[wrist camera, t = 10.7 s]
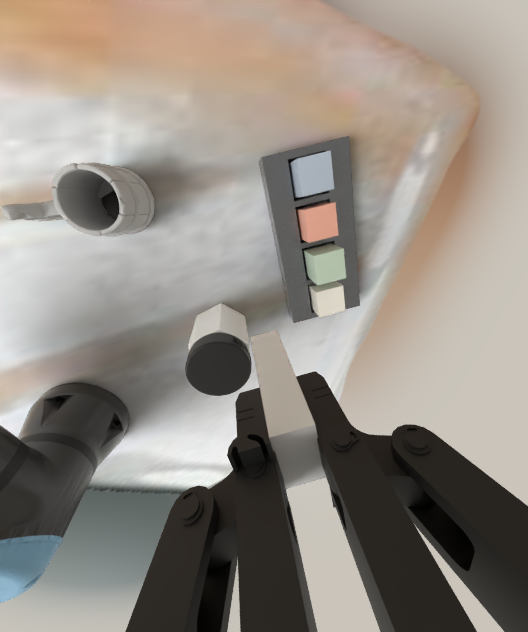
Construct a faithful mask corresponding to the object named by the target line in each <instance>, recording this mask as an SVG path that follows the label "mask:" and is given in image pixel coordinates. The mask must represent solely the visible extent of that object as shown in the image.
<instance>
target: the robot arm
mask: <svg viewBox="0 0 528 632" xmlns="http://www.w3.org/2000/svg"><path fill="white" fill-rule="evenodd" d="M250 338H251V343H252V348H253V354H254V359H255V364H256V370H257V375H258V381H259V386H260V388H257V389H253V390H250V391H246V392H242V393H240V394H239V396H238V398H237V401H236V421H237V438H235V439H234V440H233V442H232V443H231V445H230V447H229V449H228V455H227V456H228V458H229V461H230V463H231V465H232V467H233V471H232V472H231V473H230V474H229V475H228V476H227V477H226V478H225V479H224V480H222V481H221V482H219V483H218V484H217V485H215V486H213V487H212V488H210V489H207V488H206V487H203V486H196V487H192V488H190V489H188V490H186V491H185V492H183V493H182V494H181V495H180V496H179V498H178V499H177V500H176V501H175V503H174V505H173V507H172V509H171V511H170V513H169V516H168V519H167V521H166V524H165V527H164V530H163V532H162V535H161V538H160V540H159V543H158V546H157V548H156V551H155V554H154V557H153V559H152V562H151V564H150V567H149V570H148V573H147V575H146V578H145V581H144V583H143V586H142V589H141V592H140V594H139V597H138V600H137V602H136V605H135V608H134V610H133V613H132V616H131V619H130V621H129V624H128V627H127V629H126V632H227V629H228V621H229V614H230V607H231V600H232V593H233V586H234V579H235V572H236V565H237V558H238V573H239V600H240V625H241V626H240V628H241V632H317V628H316V623H315V619H314V614H313V609H312V605H311V600H310V595H309V591H308V586H307V581H306V577H305V572H304V568H303V563H302V558H301V554H300V549H299V545H298V540H297V536H296V531H295V526H294V521H293V517H292V512H291V508H290V505H289V501H288V498H287V493H286V489H288V488H291V487H294V486H297V485H301V484H305V483H308V482H312V481H315V480H318V479H322V478H325V477H327V480H328V483H329V485H330V490H331V496H332V501H333V507H336V509H337V512H338V515H339V517H340V520H341V523H342V526H343V529H344V531H345V534H346V537H347V540H348V543H349V545H350V548H351V551H352V553H353V556H354V559H355V562H356V565H357V568H358V570H359V573H360V576H361V579H362V581H363V584H364V587H365V590H366V592H367V595H368V598H369V601H370V603H371V606H372V609H373V612H374V614H375V617H376V620H377V623H378V626H379V629H380V631H381V632H477V631H476V629H475V628H474V626H473V624H472V622H471V621H470V619H469V617H468V616H467V614H466V612H465V611H464V609H463V607H462V606H461V604H460V602H459V600H458V599H457V597H456V595H455V594H454V592H453V590H452V589H451V587H450V585H449V583H448V581H447V580H446V578H445V576H444V575H443V573H442V571H441V570H440V568H439V566H438V564H437V563H436V561H435V559H434V558H433V556H432V554H431V552H430V551H429V549H428V547H427V546H426V544H425V542H424V541H423V539H422V537H421V536H420V534H419V532H418V530H417V529H416V527H417V528H418V529H419V530H420V531H421V533H422V534H423V535H424V536H425V537H426V538H427V540H428V541H429V542H430V543H431V545H432V546H433V547H434V548H435V549H436V550H437V552H438V553H439V554H440V555H441V556H442V558H443V559H444V560H445V561H446V562H447V564H448V565H449V566H450V567H451V568H452V570H453V571H454V572H455V573H456V574H457V576H458V577H459V578H460V579H461V580H462V581H463V583H464V584H465V585H466V586H467V587H468V588H469V590H470V591H471V592H472V593H473V595H474V596H475V597H476V598H477V599H478V600H479V602H480V603H481V604H482V605H483V606H484V607H485V609H486V610H487V611H488V612H489V614H490V615H491V616H492V617H493V618H494V620H495V621H496V622H497V623H498V624H499V626H500V627H501V628H502V629H503V630H504V632H528V506H527V505H525V504H524V503H523V502H522V501H520V500H519V499H518V498H516V497H515V496H514V495H513V494H511V493H510V492H509V491H507V490H506V489H505V488H504V487H502V486H501V485H500V484H498V483H497V482H496V481H495V480H493V479H492V478H491V477H489V476H488V475H487V474H485V473H484V472H483V471H482V470H480V469H479V468H478V467H477V466H475V465H474V464H472V463H471V462H470V461H469V460H467V459H466V458H465V457H464V456H462V455H461V454H460V453H458V452H457V451H456V450H454V449H453V448H452V447H451V446H449V445H448V444H447V443H446V442H444V441H443V440H442V439H440V438H439V437H438V436H437V435H435V434H434V433H432V432H431V431H429V430H427V429H426V428H424V427H420V426H417V425H403V426H400V427H397V428H396V429H395V430H394V431H393V433H392V436H384V435H381V436H380V435H369V434H366V433H363V432H360V431H359V430H357V429H355V428H354V427H353V426H352V425H351V424H350V423H349V421H348V419H347V418H346V416H345V414H344V412H343V411H342V409H341V407H340V406H339V404H338V402H337V400H336V398H335V397H334V395H333V393H332V391H331V389H330V388H329V386H328V384H327V382H326V381H325V379H324V377H322V376H321V375H320V374H318V373H317V372H311V373H308V374H304V375H301V376H297V377H296V376H295V373H294V371H293V369H292V366H291V364H290V361H289V359H288V356H287V354H286V351H285V349H284V346H283V344H282V342H281V339H280V337H279V334H278V332H277V330H274V331H270V332H267V333H263V334H259V335H256V336H252V337H250ZM128 424H129V414H128V411H127V409H126V407H125V406H124V404H123V403H122V402H121V401H120V400H119V399H118V398H117V397H116V396H115V395H113V394H112V393H110V392H108V391H106V390H104V389H102V388H99V387H96V386H92V385H87V384H66V385H61V386H58V387H55V388H53V389H51V390H49V391H47V392H46V393H44V394H43V395H42V396H41V397H40V398H39V399H38V400H37V402H36V403H35V404H34V405H33V406H32V407H31V409H30V411H29V413H28V415H27V417H26V420H25V422H24V424H23V427H22V429H21V432H20V434H19V436H18V438H17V437H15V436H14V435H13V434H11V433H10V432H9V431H7V430H6V429H5V428H3V427H2V426H1V425H0V603H2V602H5V601H8V600H10V599H13V598H15V597H17V596H19V595H21V594H23V593H24V592H25V591H27V590H28V589H30V588H31V587H32V586H33V585H34V584H35V583H36V582H37V581H38V580H39V579H40V577H41V576H42V575H43V573H44V571H45V569H46V567H47V566H48V564H49V562H50V561H51V559H52V557H53V555H54V554H55V552H56V550H57V548H58V547H59V546H60V545H61V543H62V540H63V539H62V538H63V536H64V534H65V532H66V530H67V528H68V526H69V524H70V522H71V520H72V517H73V515H74V513H75V511H76V509H77V507H78V505H79V503H80V501H81V499H82V497H83V495H84V493H85V491H86V489H87V487H88V485H89V483H90V481H91V478H92V476H93V474H94V472H95V470H96V468H97V467H98V465H99V464H100V463H101V462H102V461H103V460H104V459H105V458H106V457H107V456H108V455H109V454H110V453H111V451H112V450H113V449H114V448H115V447H116V446H117V445H118V444H119V443H120V441H121V440H122V438H123V436H124V434H125V432H126V430H127V428H128ZM325 475H326V476H325ZM414 524H415V525H416V527H415V525H414Z"/></svg>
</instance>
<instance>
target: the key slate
mask: <svg viewBox="0 0 528 632" xmlns="http://www.w3.org/2000/svg"><path fill="white" fill-rule="evenodd" d="M288 165H289V171H290V178H291V184H292V191H293V197H294V198H297V197H304V196H308V195H312V194H316V193H320V192H324V191H328V190H332V189H334V180H333V169H332V158H331V151H326V152H322V153H318V154H314V155H310V156H306V157H302V158H298V159H296V160H294V161H293V162H291V163H290V164H288Z"/></svg>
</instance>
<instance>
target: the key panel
mask: <svg viewBox="0 0 528 632" xmlns="http://www.w3.org/2000/svg"><path fill="white" fill-rule="evenodd" d="M326 151H331V158H332V169H333V180H334V189H332V190H328V191H324V192H322V194H318V195H314V196H310V197H306V198H302V199H298V200H294V197H293V191H292V184H291V178H290V171H289V165H288V162H289V161H293V160H296V159H298V158H302V157H306V156H310V155H314V154H318V153H322V152H326ZM259 165H260V170H261V175H262V180H263V185H264V190H265V195H266V200H267V205H268V210H269V215H270V220H271V225H272V230H273V235H274V240H275V245H276V250H277V255H278V260H279V265H280V270H281V275H282V280H283V285H284V290H285V295H286V300H287V305H288V310H289V315H290V317H291V319H292V321H293V322H294V323H296V322H300V321H303V320H307V319H311V318H315V317H318V315H317V314H316V313H315V311H314V310H313V309H312V308H311V305H310V299H309V293H308V286H307V285H310V284H314V282H313V281H312V280H311V279H310V278H309V277H308V274H306V273H305V267H304V261H303V254H302V249H303V248H307V247H311V246H314V245H318V244H322V243H326V242H327V244H330V243H331V244H333V245H336V246H339V247H341V248H344V258H345V269H346V278H345V279H341V280H337V282H339V283H340V284H342V285H343V290H344V301H345V309H349V308H352V307H356V306H360V301H359V285H358V270H357V254H356V238H355V223H354V207H353V191H352V176H351V160H350V144H349V136H347V137H343V138H339V139H335V140H331V141H327V142H323V143H319V144H315V145H311V146H306V147H302V148H298V149H294V150H290V151H286V152H282V153H278V154H274V155H270V156H266V157H262V158H261V159H260V160H259ZM322 200H323V202H336V213H337V224H338V236H334V237H330V238H326V239H322V240H318V241H314V242H310V243H308V242H306V241H304V240H302V239H301V240H300V235H299V229H298V222H297V216H296V210H295V207H298V206H302V205H306V204H310V203H314V202H318V201H322Z"/></svg>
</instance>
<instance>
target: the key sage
mask: <svg viewBox="0 0 528 632" xmlns="http://www.w3.org/2000/svg"><path fill="white" fill-rule="evenodd" d="M304 255H305V261H306V268H307V274H308V277H309V278H310V279H311V280H312V281H313V282H314V283H315V284H316V285H322V284H325V283H329V282H333V281H337V280H341V279H345V278H346V269H345V258H344V248H341V247H339V246H336V245H333V244H331V243H330V244H327V245H323V246H319V247H315V248H311V249H307V250H304Z"/></svg>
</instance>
